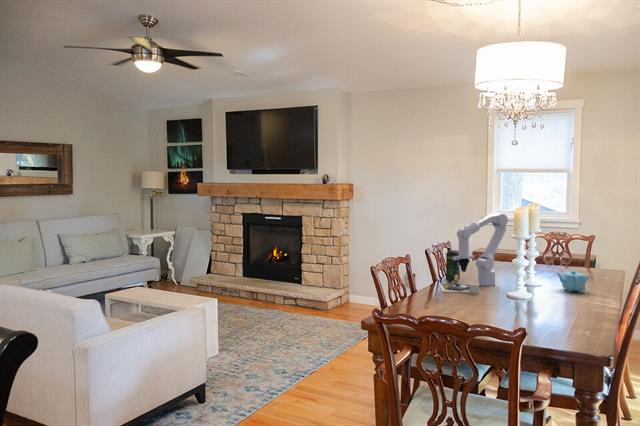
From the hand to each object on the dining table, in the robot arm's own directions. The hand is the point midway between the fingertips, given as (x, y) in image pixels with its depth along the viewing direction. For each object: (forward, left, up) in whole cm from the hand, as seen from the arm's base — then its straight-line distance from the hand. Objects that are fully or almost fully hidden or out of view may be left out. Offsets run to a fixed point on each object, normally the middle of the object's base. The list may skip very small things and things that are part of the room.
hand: (463, 271), depth 306 cm
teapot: (-57, +11, -9) cm, 59 cm away
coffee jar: (+3, -22, -9) cm, 24 cm away
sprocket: (+5, +7, -9) cm, 12 cm away
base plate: (+5, +7, -9) cm, 12 cm away
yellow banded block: (-2, +19, -9) cm, 21 cm away
